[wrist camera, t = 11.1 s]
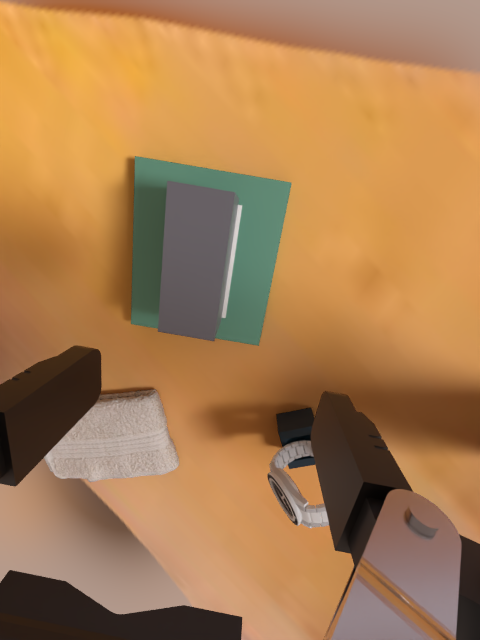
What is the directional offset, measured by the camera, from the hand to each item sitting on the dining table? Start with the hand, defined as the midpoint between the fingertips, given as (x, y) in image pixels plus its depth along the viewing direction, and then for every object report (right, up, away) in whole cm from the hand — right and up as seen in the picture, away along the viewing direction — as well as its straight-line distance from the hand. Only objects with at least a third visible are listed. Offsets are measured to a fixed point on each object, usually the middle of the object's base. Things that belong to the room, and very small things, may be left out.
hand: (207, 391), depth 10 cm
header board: (-2, +9, +18) cm, 20 cm away
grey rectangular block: (-2, +8, +17) cm, 19 cm away
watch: (+8, -11, +24) cm, 28 cm away
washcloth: (-17, -12, +27) cm, 34 cm away
